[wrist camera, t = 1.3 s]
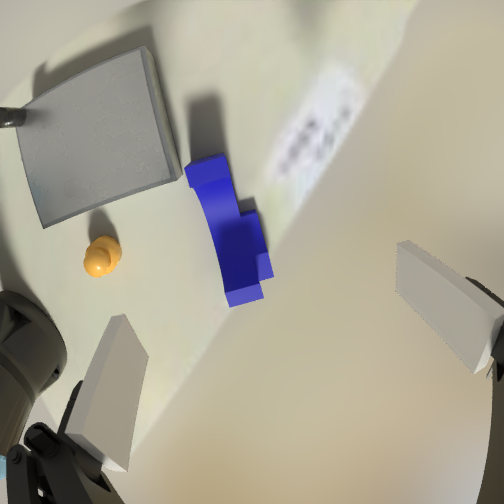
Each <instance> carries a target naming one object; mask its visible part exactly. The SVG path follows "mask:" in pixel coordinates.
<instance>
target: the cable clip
mask: <svg viewBox="0 0 504 504" xmlns="http://www.w3.org/2000/svg"><path fill="white" fill-rule="evenodd" d="M184 169H185V173H186V176H187V179H188V183H189V186H190V188H191V187H192V188H193V189H194V190H195V192H196V194H197V196H198V198H199V200H200V203H201V205H202V208H203V211H204V213H205V216H206V219H207V222H208V225H209V229H210V232H211V235H212V238H213V242H214V246H215V249H216V253H217V257H218V261H219V265H220V269H221V274H222V279H223V284H224V291H225V295H226V298H227V301H228V304H229V307H234V306H237V305H241V304H244V303H248V302H251V301H255V300H258V299H262V298H264V297H263V293H262V290H261V286H260V283H259V281H261V280H265V279H269V278H272V277H274V275H273V271H272V267H271V263H270V258H269V254H268V251H267V248H266V244H265V241H264V238H263V234H262V231H261V227H260V223H259V220H258V216H257V212H256V211H255V209H254V210H251V211H247V212H243V213H239V209H238V205H237V202H236V198H235V194H234V190H233V186H232V182H231V178H230V172H229V169H228V165H227V161H226V158H225V155H224V154H223V153H220V154H216V155H212V156H209V157H206V158H202V159H199V160H196V161H192V162H190V163H189V164H188V165H187V166H186V167H185V168H184Z"/></svg>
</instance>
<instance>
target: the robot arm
mask: <svg viewBox="0 0 504 504" xmlns="http://www.w3.org/2000/svg"><path fill="white" fill-rule="evenodd" d="M396 292H397V293H398V294H399V295H400V296H401V297H402V298H403V299H404V300H405V301H406V302H407V303H408V304H409V305H410V306H411V307H412V308H413V309H414V310H415V311H416V312H417V313H418V314H419V315H420V317H421V318H423V320H424V321H425V322H426V323H427V324H428V325H429V326H430V327H431V328H432V329H433V330H434V331H435V332H436V333H437V334H438V336H439V337H440V338H441V339H442V340H443V341H444V342H445V343H446V344H447V345H448V346H449V347H450V349H451V350H452V351H453V352H454V353H455V354H456V355H457V356H458V358H459V359H460V360H461V361H462V362H463V363H464V364H465V366H466V367H467V368H468V369H469V370H470V371H471V373H472V374H475V373H476V372H478V371H479V370H481V369H482V368H484V367H485V366H486V364H487V362H488V359H489V357H490V355H491V356H492V357H493V358H494V361H493V363H492V366H491V368H490V370H489V372H488V374H487V377H486V379H489V377H490V375H491V373H493V376H492V379H493V396H492V399H493V400H492V417H491V430H490V439H489V446H488V453H487V459H486V465H485V470H484V475H483V480H482V484H481V488H480V492H479V496H478V500H477V503H476V504H504V301H503V300H501V299H500V298H499V297H497V296H496V295H495V294H494V293H491V291H490V290H488V289H487V288H485V287H484V286H483V285H482V284H481V283H479V282H478V281H476V280H474V279H471V278H468V277H465V278H464V277H463V276H461V275H460V274H459V273H457V272H456V271H455V270H453V269H452V268H450V267H449V266H448V265H446V264H445V263H443V262H442V261H440V260H439V259H437V258H436V257H434V256H433V255H431V254H430V253H428V252H427V251H426V250H424V249H422V248H421V247H419V246H418V245H416V244H414V243H413V242H412V241H410V240H407V241H403V242H400V243H397V267H396ZM148 357H149V356H148V355H147V353H146V351H145V350H144V348H143V346H142V344H141V343H140V341H139V339H138V337H137V336H136V334H135V332H134V330H133V328H132V326H131V325H130V323H129V321H128V319H127V317H126V315H125V314H122V315H118V316H113V317H111V319H110V321H109V323H108V325H107V328H106V330H105V332H104V334H103V336H102V338H101V341H100V343H99V345H98V347H97V350H96V352H95V354H94V356H93V359H92V361H91V364H90V366H89V368H88V371H87V373H86V376H85V378H84V380H80V381H79V383H78V384H77V385H76V386H75V388H74V389H73V391H72V394H71V396H70V401H68V404H67V406H66V407H67V409H65V412H64V414H63V417H62V420H61V423H60V426H59V429H58V432H57V434H56V433H54V432H53V431H52V430H51V429H50V428H49V427H48V426H47V425H46V424H44V423H42V422H37V423H35V424H33V425H31V427H29V428H28V430H27V431H26V433H25V436H24V445H26V446H27V447H28V448H29V449H30V450H31V451H28V450H27V449H26V448H25V447H24V446H22V445H20V444H19V440H20V438H21V435H22V432H23V429H24V427H25V424H26V422H27V419H28V417H29V414H30V412H31V409H32V407H33V404H34V402H35V400H36V399H37V397H38V396H40V395H41V394H42V393H43V392H44V391H45V390H46V389H47V388H49V387H50V386H51V385H52V384H53V383H54V382H55V381H57V380H58V379H59V377H60V376H61V374H62V372H63V370H64V368H65V366H66V362H67V352H66V348H65V345H64V342H63V340H62V338H61V336H60V334H59V332H58V331H57V329H56V328H55V326H54V325H53V323H52V322H51V321H50V320H49V318H48V317H47V316H46V315H45V314H44V313H43V312H42V311H41V310H40V309H39V308H38V307H37V306H36V305H34V304H33V303H32V302H31V301H29V300H28V299H26V298H25V297H23V296H21V295H19V294H17V293H14V292H10V291H1V292H0V480H1V479H3V478H4V477H5V476H6V480H7V496H8V504H125V503H124V502H123V501H122V499H121V498H120V496H119V495H118V494H117V492H116V490H115V489H114V487H113V486H112V484H111V483H110V481H109V479H108V478H107V476H106V475H105V474H104V473H103V472H102V471H101V467H102V464H103V465H104V466H105V467H107V468H108V469H110V470H111V471H122V472H128V465H129V457H130V451H131V444H132V438H133V432H134V426H135V420H136V415H137V409H138V404H139V399H140V394H141V389H142V384H143V380H144V375H145V370H146V366H147V361H148ZM38 489H40V490H41V491H43V497H42V496H40V495H39V494H38Z"/></svg>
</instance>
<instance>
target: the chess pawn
mask: <svg viewBox="0 0 504 504" xmlns="http://www.w3.org/2000/svg"><path fill="white" fill-rule="evenodd" d="M121 255H122V251H121V247H120V245H119V243H118V242H117V241H116V240H115V239H114V238H113V237H110V236H107V235H103V236H100V237H98V238H97V239H96V240H95V241H94V242H93V243H92V244H91V245H90V246H89V247H88V248H87V250H86V254H85V259H84V268H85V270H86V272H87V273H88V274H89V275H91V276H93V277H101V276H103V275H104V274H108V273H110V272H112V271H113V269H114V268H115V266H116V265H117V263H118V262H119V261H120V259H121Z"/></svg>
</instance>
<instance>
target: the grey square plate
mask: <svg viewBox="0 0 504 504" xmlns="http://www.w3.org/2000/svg"><path fill="white" fill-rule="evenodd" d="M11 127H16V133H17V138H18V143H19V148H20V152H21V157H22V161H23V165H24V169H25V173H26V177H27V181H28V184H29V188H30V191H31V194H32V197H33V201H34V204H35V207H36V210H37V213H38V216H39V219H40V221H41V224H42V227H43V229H45V228H47V227H50V226H52V225H54V224H57V223H59V222H61V221H64V220H66V219H68V218H71V217H73V216H76V215H78V214H81V213H83V212H86V211H88V210H91V209H94V208H96V207H99V206H102V205H104V204H107V203H110V202H113V201H115V200H118V199H121V198H124V197H127V196H130V195H133V194H136V193H138V192H141V191H145V190H148V189H151V188H154V187H157V186H160V185H163V184H167V183H170V182H173V181H177V180H178V179H179V178H180V177H181V176H182V175H183V174H182V171H181V167H180V163H179V160H178V156H177V152H176V148H175V145H174V141H173V137H172V133H171V129H170V125H169V121H168V117H167V113H166V109H165V105H164V101H163V96H162V92H161V88H160V83H159V79H158V74H157V70H156V65H155V61H154V57H153V55H152V54H151V53H150V51H149V50H148V49H147V47H146V46H145V45H143V46H141V47H138V48H135V49H132V50H130V51H127V52H125V53H122V54H120V55H117V56H115V57H112V58H110V59H108V60H105V61H103V62H101V63H99V64H96V65H94V66H92V67H90V68H88V69H86V70H84V71H82V72H80V73H78V74H76V75H74V76H72V77H70V78H69V79H67V80H65V81H63V82H61V83H60V84H58V85H56V86H54V87H53V88H51V89H49V90H48V91H46V92H44V93H43V94H41V95H40V96H38V97H36V98H35V99H33V100H32V101H30V102H29V103H27V104H26V105H24V106H23V107H21V108H10V107H0V128H11Z"/></svg>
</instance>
